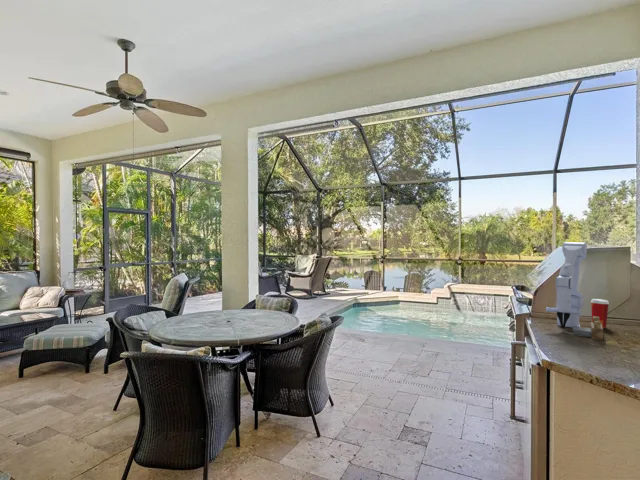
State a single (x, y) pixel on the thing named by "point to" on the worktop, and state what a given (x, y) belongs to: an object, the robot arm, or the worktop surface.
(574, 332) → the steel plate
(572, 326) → the robot arm
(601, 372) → the worktop surface
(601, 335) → the bench dog block
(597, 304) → the paper cup
